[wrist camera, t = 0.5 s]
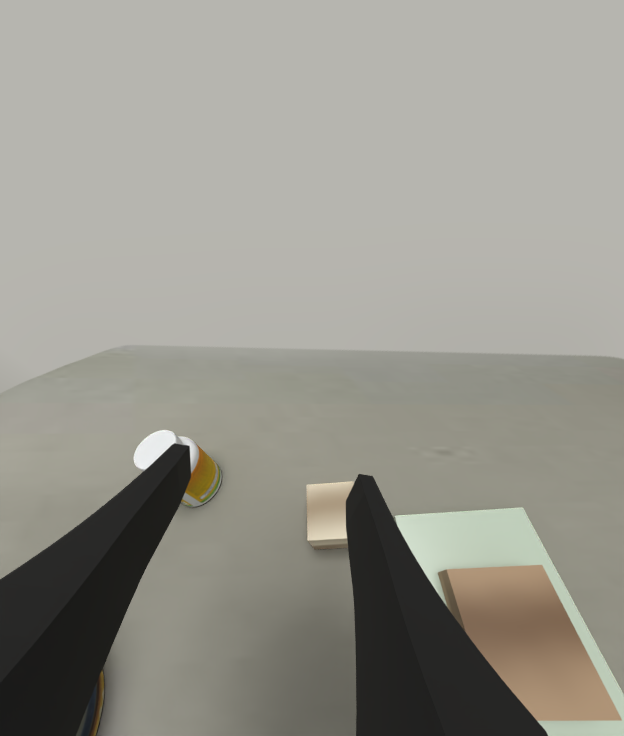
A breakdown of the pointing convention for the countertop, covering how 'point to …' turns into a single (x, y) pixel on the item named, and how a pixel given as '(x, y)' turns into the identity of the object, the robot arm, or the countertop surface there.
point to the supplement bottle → (202, 466)
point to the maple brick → (327, 515)
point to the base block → (528, 640)
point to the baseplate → (499, 549)
